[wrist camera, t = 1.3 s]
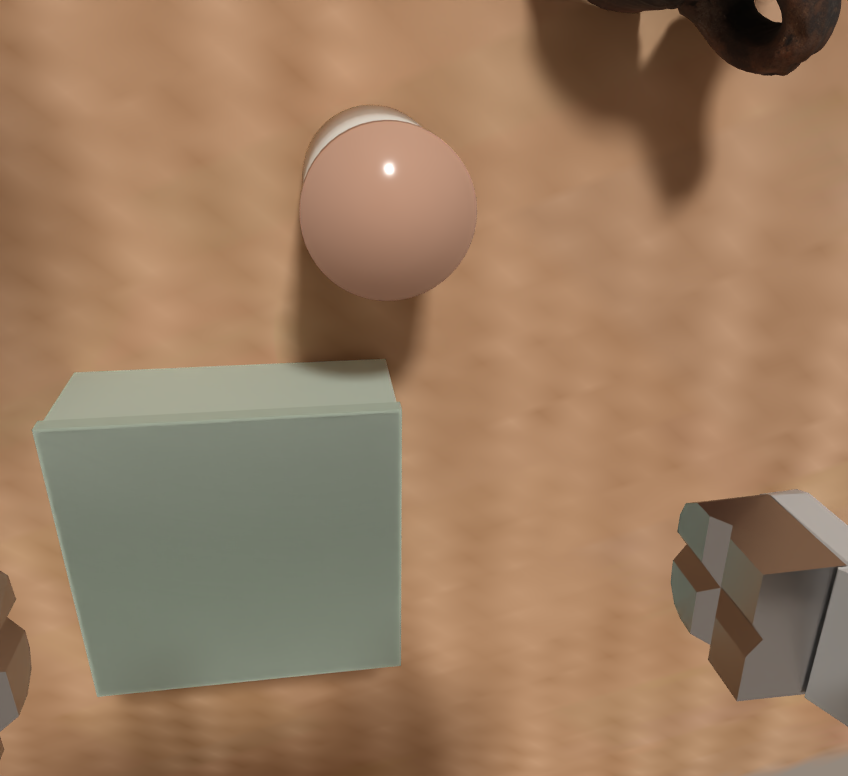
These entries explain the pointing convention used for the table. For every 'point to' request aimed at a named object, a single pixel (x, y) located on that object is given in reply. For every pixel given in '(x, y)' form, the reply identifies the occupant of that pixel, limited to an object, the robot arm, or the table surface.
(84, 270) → the table surface
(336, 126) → the pink capped tube
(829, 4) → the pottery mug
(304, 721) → the table surface
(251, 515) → the sage box
